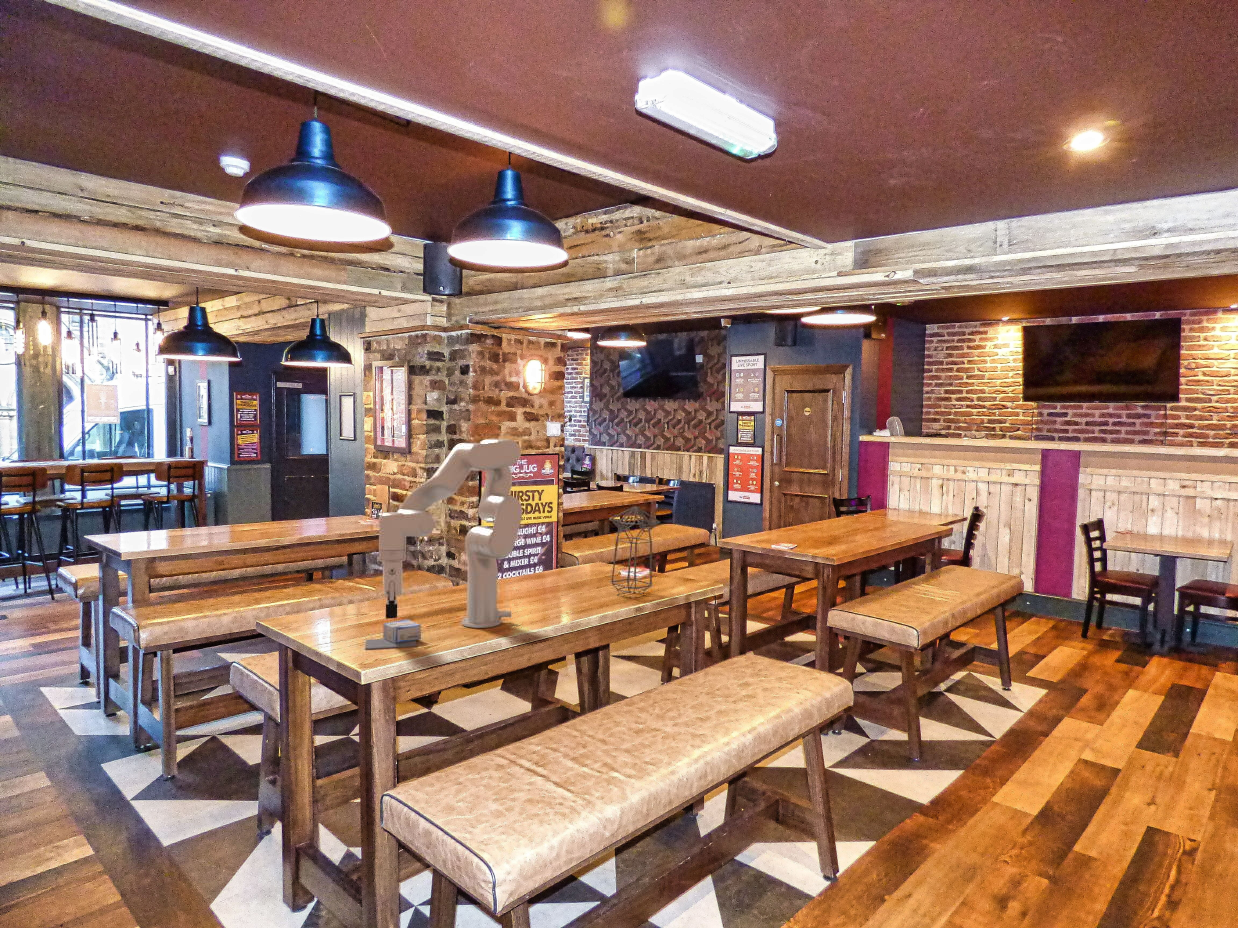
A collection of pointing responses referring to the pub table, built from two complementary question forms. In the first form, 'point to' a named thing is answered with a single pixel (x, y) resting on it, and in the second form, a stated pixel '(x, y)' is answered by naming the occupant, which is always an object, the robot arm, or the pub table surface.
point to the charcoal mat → (387, 644)
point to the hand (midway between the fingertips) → (391, 617)
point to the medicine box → (401, 631)
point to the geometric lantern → (638, 511)
